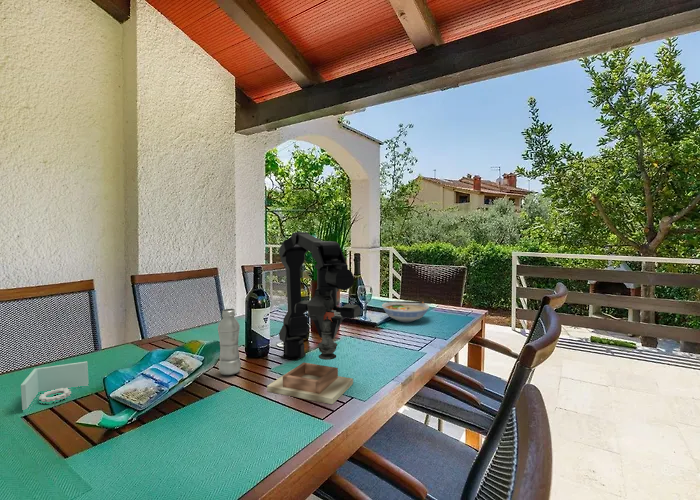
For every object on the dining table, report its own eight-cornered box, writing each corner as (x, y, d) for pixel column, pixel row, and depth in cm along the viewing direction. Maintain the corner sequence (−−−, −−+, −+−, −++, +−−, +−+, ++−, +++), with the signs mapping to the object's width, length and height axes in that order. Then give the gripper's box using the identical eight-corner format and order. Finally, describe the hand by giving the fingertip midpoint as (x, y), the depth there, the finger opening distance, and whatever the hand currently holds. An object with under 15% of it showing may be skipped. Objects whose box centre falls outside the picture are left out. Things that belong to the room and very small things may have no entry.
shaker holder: (267, 391, 106) (266, 375, 105) (293, 373, 119) (293, 359, 118) (332, 404, 98) (332, 387, 98) (353, 383, 111) (353, 368, 110)
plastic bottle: (245, 371, 120) (244, 308, 119) (230, 379, 114) (228, 313, 112) (229, 368, 123) (228, 306, 121) (213, 375, 116) (212, 311, 115)
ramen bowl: (377, 325, 175) (377, 308, 175) (381, 314, 198) (381, 298, 197) (432, 328, 171) (433, 310, 171) (430, 316, 194) (430, 300, 193)
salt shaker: (335, 360, 108) (334, 319, 108) (315, 359, 109) (314, 318, 109) (339, 353, 114) (339, 314, 113) (320, 352, 115) (320, 313, 114)
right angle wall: (22, 414, 94) (20, 385, 93) (35, 395, 104) (34, 368, 104) (81, 404, 99) (80, 376, 99) (88, 386, 110) (87, 361, 109)
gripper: (284, 287, 106) (285, 342, 107) (346, 291, 100) (346, 350, 101) (303, 281, 117) (304, 332, 118) (361, 285, 110) (360, 338, 111)
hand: (327, 338), depth 111 cm, fingers closed on salt shaker, 4 cm apart
